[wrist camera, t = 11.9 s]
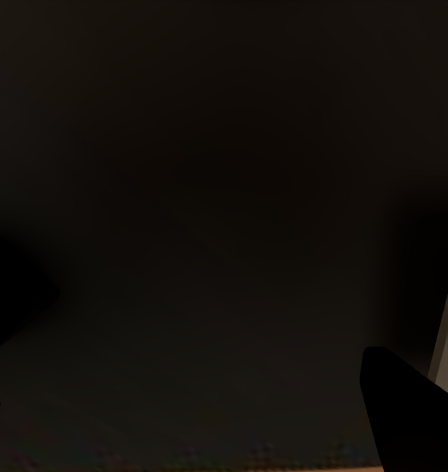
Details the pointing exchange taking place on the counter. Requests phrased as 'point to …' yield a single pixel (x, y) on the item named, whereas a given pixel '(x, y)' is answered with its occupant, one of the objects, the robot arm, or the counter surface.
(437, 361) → the lid
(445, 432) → the robot arm
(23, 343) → the counter surface
